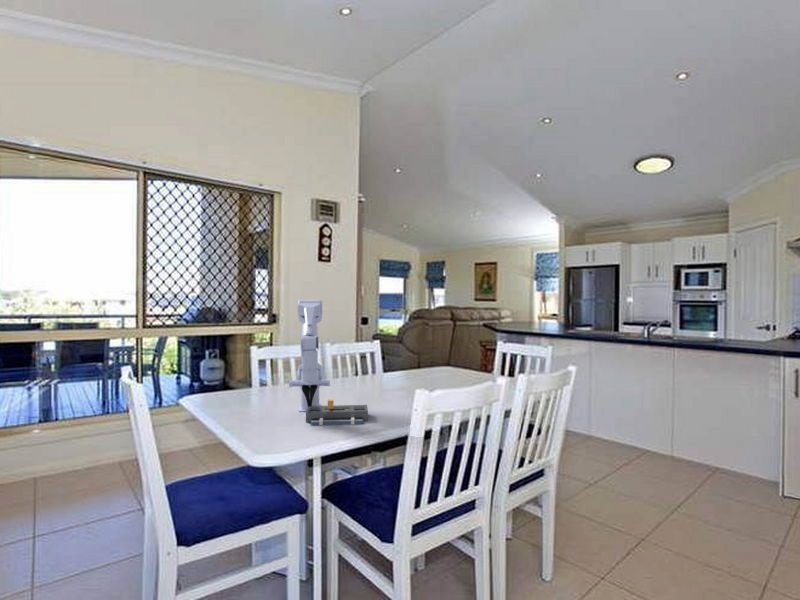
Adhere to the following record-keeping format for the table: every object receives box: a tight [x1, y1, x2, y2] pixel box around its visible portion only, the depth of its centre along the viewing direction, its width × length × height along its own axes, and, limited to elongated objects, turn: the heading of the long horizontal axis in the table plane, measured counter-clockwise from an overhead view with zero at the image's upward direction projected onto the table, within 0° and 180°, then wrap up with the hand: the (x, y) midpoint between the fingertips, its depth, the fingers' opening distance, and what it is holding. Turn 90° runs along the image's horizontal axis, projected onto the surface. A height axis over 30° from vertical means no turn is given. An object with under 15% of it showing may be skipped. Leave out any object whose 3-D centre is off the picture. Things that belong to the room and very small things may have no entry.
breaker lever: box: [327, 398, 334, 409], centre depth 173 cm, size 2×2×3 cm
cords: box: [310, 417, 364, 426], centre depth 167 cm, size 4×18×2 cm, turn 96°
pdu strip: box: [305, 404, 369, 423], centre depth 173 cm, size 9×22×4 cm, turn 96°
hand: (309, 405), depth 172 cm, fingers closed
